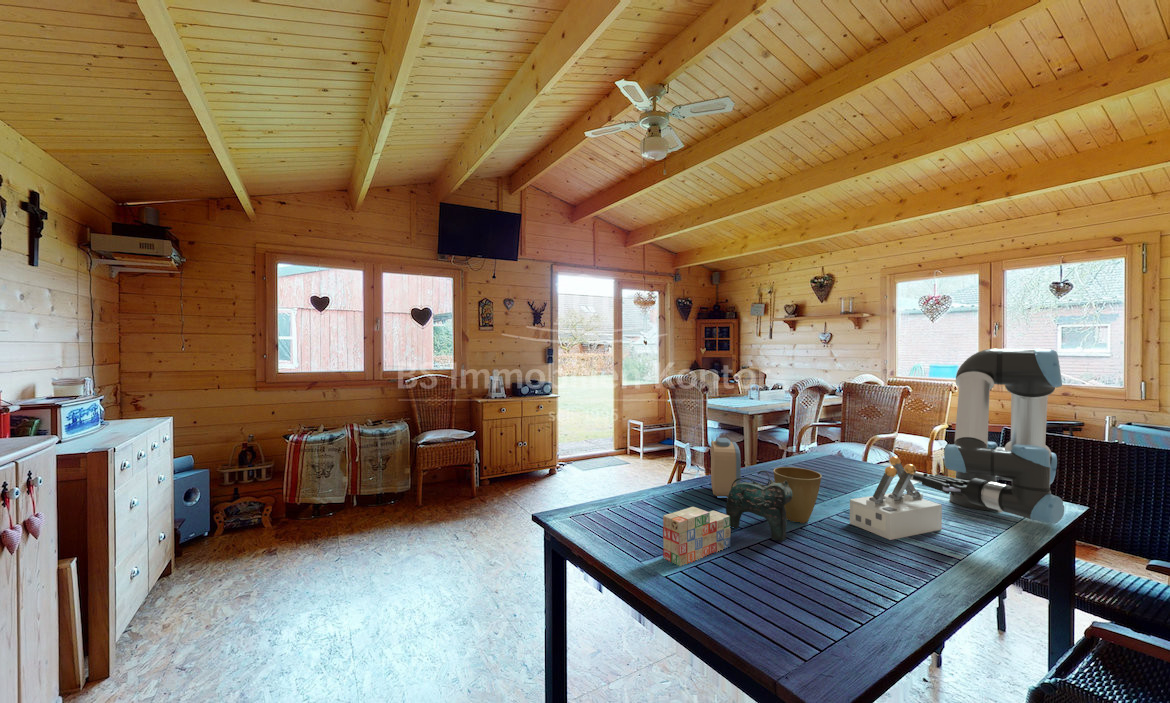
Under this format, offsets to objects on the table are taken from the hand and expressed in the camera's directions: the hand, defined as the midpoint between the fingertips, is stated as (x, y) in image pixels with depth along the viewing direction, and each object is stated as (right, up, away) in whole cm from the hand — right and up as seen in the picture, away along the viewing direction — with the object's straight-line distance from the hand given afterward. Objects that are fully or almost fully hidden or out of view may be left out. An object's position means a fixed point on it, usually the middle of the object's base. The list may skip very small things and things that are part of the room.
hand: (906, 473), depth 156 cm
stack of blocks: (-75, -17, -24) cm, 81 cm away
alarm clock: (-52, -16, +29) cm, 62 cm away
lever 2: (+2, -7, -2) cm, 8 cm away
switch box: (-7, -16, -4) cm, 18 cm away
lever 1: (-15, -7, -7) cm, 18 cm away
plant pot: (-36, -16, +2) cm, 39 cm away
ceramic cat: (-54, -16, -10) cm, 57 cm away
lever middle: (-7, -8, -4) cm, 11 cm away
